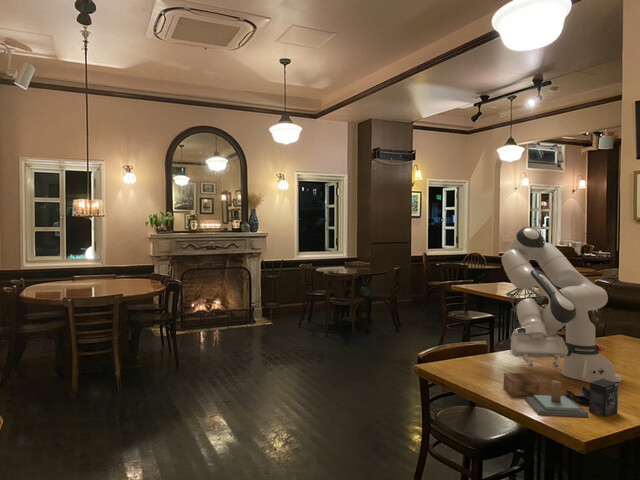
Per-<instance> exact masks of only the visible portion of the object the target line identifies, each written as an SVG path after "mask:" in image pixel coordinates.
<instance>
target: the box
mask: <svg viewBox="0 0 640 480" xmlns="http://www.w3.org/2000/svg"><path fill="white" fill-rule="evenodd" d="M589 390H590V393H589V403H588V412H591V413H592V414H595V415H598V416H601V417H604V418H605V417H608V416H610V415H613V414H617V413H618V405H619V400H618V399H619V382H612V381H609V380H606V379H600V380H596V381H591V382H589Z"/></svg>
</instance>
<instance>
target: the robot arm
mask: <svg viewBox="0 0 640 480" xmlns="http://www.w3.org/2000/svg"><path fill="white" fill-rule="evenodd" d="M542 235H543V234H542V233H540V232H539V231H538V230H537V228H535V227H531V226H524V227H522V228H521V229H519V231H517V232H516V235H515V237H514V238H513V239H512V242H511V244H510V246H509V250H507V251H505V252H504V253H503V254H502V256H501V264H502V266H503V269H504V272H505V273H506V276H507V278H508V279H509V281H510V282H511V284H512V285H513V286H514V287H515V288H520V289H523V290H525V289H526V290H527V289H528V290H530V289H529V288H532V289H533V288H536V287H537V288H539V290H540V291H541V292H542V293H543V295H544V297H546V298H547V300H548V304H547V305H546V307H544V308H543V307H542V306H541V305H540V304H539V303H538V304H537V302H535V301H536V300H534V299H535V298H532V297H531V298H530V297H528V298H527V297H526V298H527V299H523V300H521V301H518V303H517V306H516V312H517V321H518V323H519V322H520V328H519V327H518V328H516V329H515V328H514V331H513V330H512V333H511V341H512V342H511V343H510V352H511V354H512V355H513V356H514V357H521V358H522V359H523V360H524V361H525V363H526V365H527V367H533V366H534V363H533V360H531V359H530V357H531V358H553V360H554V361H553V362H552V366H553V368H559V367H560V363H559V360H560V358H561V359H563V358H564V359H563V364H562V368H561V371H560V374H562V375H563V376H564V377H567V378H571V379H573V380H579V381H582V382H586V383H590V382H591V381H596V380H600V379H606V380H609V381H612V382H616V383H622V381H623V380H622V377H621V376H620V375H619V374H617V373H616V369H615V366H614V364H613V363H612V361H610V360H609V359H608V358H606V357H605V356H604V355H603V354H601V353H604V352H605V350H606V349H605V347H603V346H601V345H600V346H599V345H598V344H597V343H596V326H595V323H593V322H591V320H590V317H589V311H595V310H599V309H601V308H603V307H604V306H606V304H607V303H608V302H609V301H608V300H609V296H608V293H607V291H606V290H605V288H603V287H601V286H599V285H596V284H595V283H593V282H592V281H591V280H589V279H588V278H587V277H586V276H584V275H583V274H581V273H580V272H579V271H578V270H577V269H576V268H575V267H574V265H572V263H571V262H570V261H569V260H568V258H567V257H566V256H565V255H564V254H563V252H561V251H560V250H559V249H558V248H557V247H556V245H554V244H552V243H550V242H546V241H545V238H544V236H542ZM532 259H533V260H534V261H535V262H537V263H538V266H539V267H540V269H542V271H541V270H539V269H535V268H534V267H533V266H532V264H531V263H530V261H531V260H532ZM559 288H560V289H559ZM539 305H540V306H539ZM564 327H565V339H564V337H562V336H559V334H556V333H557V332H559V330H561V329H562V328H564ZM600 352H601V353H600Z"/></svg>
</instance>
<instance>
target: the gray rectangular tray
mask: <svg viewBox="0 0 640 480" xmlns="http://www.w3.org/2000/svg"><path fill="white" fill-rule="evenodd" d="M568 399H569V400H570V401H572V402H573V403H574V404H575V405H576V406H577V407H579V411H566V410H545V409H544V408H543V407H542V405H541V404H540V403H539V402H538V401H537V400H536V399H535V398H534V397H525V402H526V403H527V404H528V405H529V406H530V407H531V408H532V409H533V410H534V411H535V413H536V414H537V415H538V416H552V417H554V416H556V417H577V418H578V417H579V418H589V411H587V410H585V409H584V408H583V407H582V406H581V405H579V403H577V401H575V400H573V399H571V398H568Z"/></svg>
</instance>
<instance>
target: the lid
mask: <svg viewBox="0 0 640 480" xmlns="http://www.w3.org/2000/svg"><path fill="white" fill-rule="evenodd" d="M550 388H551V389H550V395H544V394H542V395H541V394H539V395H534V398H535V399H536V400H537V401H538V402H539V403H540V404H541V405H542V407H543V408H544V409H545V410H566V411H579V407H577V406H576V405H575V404H574V403H573V402H572V401H570V400H569V399H568V398H567V397H566V396H564V395H562V382H561V381H560V380H554V379H553V380H551V387H550Z"/></svg>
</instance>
